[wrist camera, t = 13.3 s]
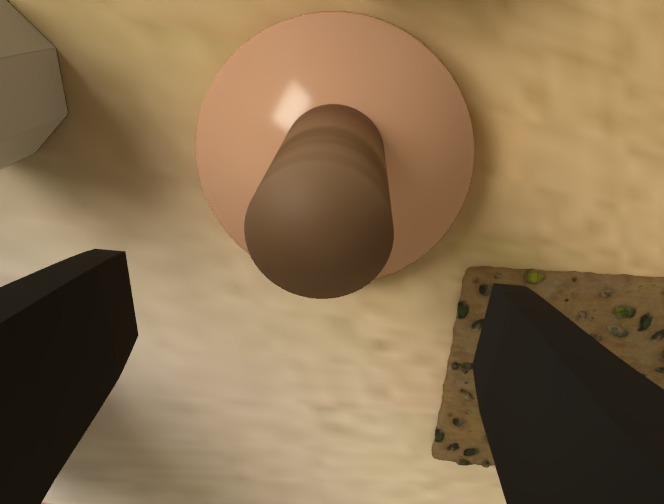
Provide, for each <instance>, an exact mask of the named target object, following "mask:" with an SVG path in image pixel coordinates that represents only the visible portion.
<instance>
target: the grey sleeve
mask: <svg viewBox="0 0 664 504" xmlns="http://www.w3.org/2000/svg"><path fill="white" fill-rule="evenodd" d="M67 114H68V110H67V105H66V100H65V94H64V89H63V84H62V79H61V73H60V68H59V63H58V58H57V52H56V48H55V47H54V46H53V45H52V44H51V43H50V42H49V41H48V40H47V39H46V38H45V37H44V36H43V35H42V34H41V33H40V32H39V31H38V30H37V29H36V28H35V27H34V26H33V25H32V24H30V23H29V22H28V21H27V20H26V19H25V18H24V17H23V16H22V15H21V14H20V13H19V12H18V11H17V10H16V9H15V8H14V7H13V6H12V5H11V4H10V3H9V2H8V1H7V0H0V169H2V168H4V167H6V166H8V165H10V164H12V163H15V162H17V161H19V160H21V159H23V158H25V157H27V156H29V155H31V154H33V153H35V152H36V151H37V150H38V149H39V147H40V146H41V145H42V144H43V143H44V142H45V140H46V139H47V138H48V137H49V136H50V134H51V133H52V132H53V131H54V130H55V129H56V127H57V126H58V125H59V124H60V123H61V121H62V120H63V119H64V118H65V117H66V116H67Z"/></svg>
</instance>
